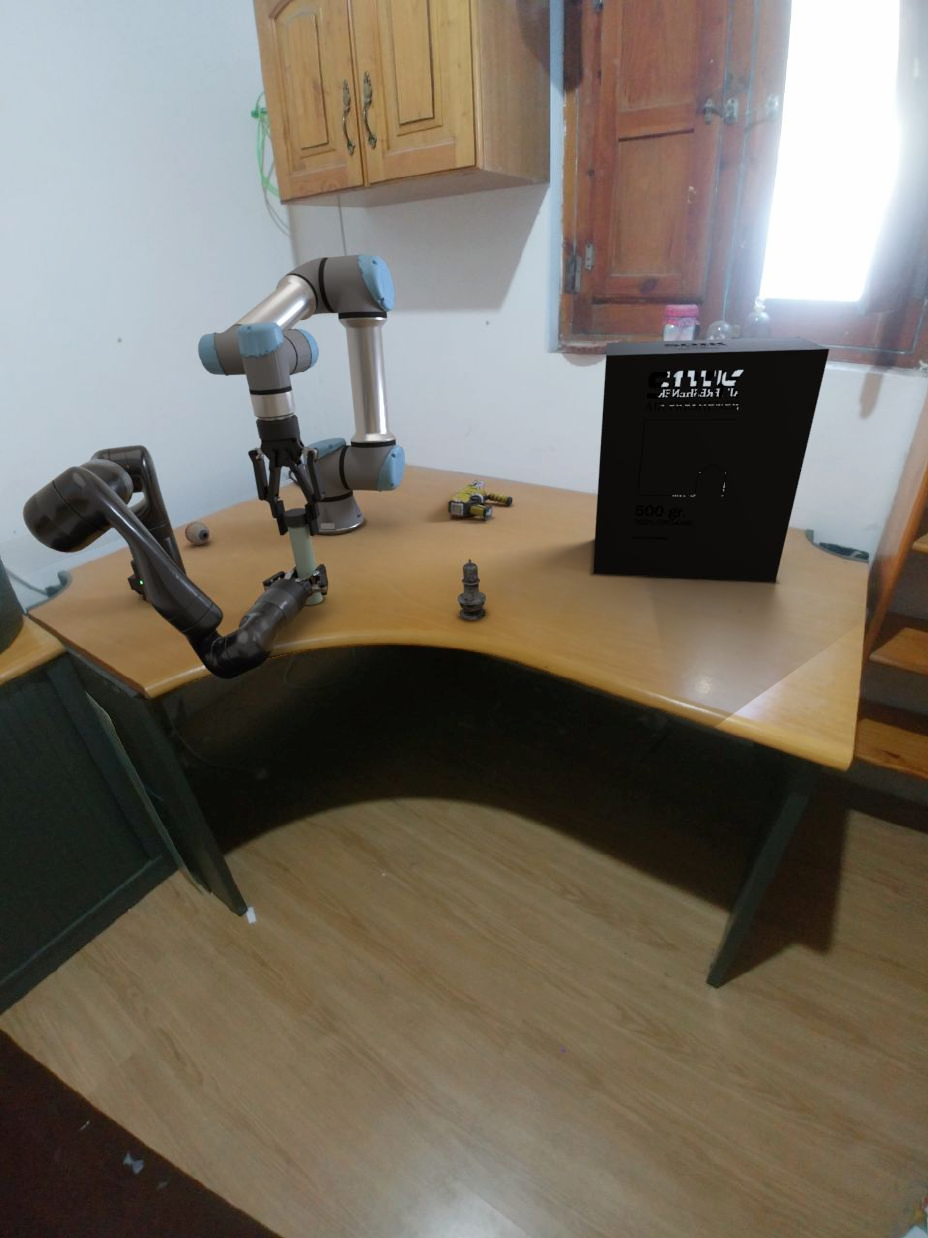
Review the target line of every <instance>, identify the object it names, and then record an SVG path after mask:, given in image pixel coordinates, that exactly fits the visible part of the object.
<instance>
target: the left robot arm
mask: <svg viewBox="0 0 928 1238" xmlns="http://www.w3.org/2000/svg"><path fill="white" fill-rule="evenodd" d="M139 493H142V494H143V498H142V499H141V500H139V501H138V502H137V503H135V504H133V505H131V506H128V505H129V503H130V502H131V500H132V498H133V494H139ZM162 494H163V493H162V490H161V487H160V483H159V478H158V474H157V471H156V467H155V463H154V460H153V457H152V455H151V453H150V451H149V450H148V448H147V447H146V446H145V445H142V444H135V445H133V444H132V445H126V446H117V447H110V448H109V447H108V448H103V449H100V450H98V451H96V452H94V453H93V455H92V456H91V457H90V458H89V460H88V461H86V462H84V463H81V464H80V465H79V466H78V465H77V466H76V465H74V466H70V467H68V468H67V469H66V470H65V469H64V471H63V472H62V473H60V474H59V475H57V476H56V477H55V478H54V479H52V480H51V481H49V482H48V483H47V484H45V485H44V486H43V487H42V488H40V489H39V490H37V492H35V493H33V494H32V495H31V496H30V497H29V498H28V500H26V502H25V503H24V505H23V508H22V517H23V521H24V524H25V526H26V528H27V529H28V531H29V533H30V534H31V535H32V536H33V538H35V539H36V540H37V542H39V543H41V545H44V546H45V547H47V548H49V549H50V550H54V551H57V552H60V553H67V554H72V553H77V552H81V551H83V550H84V549H86V548H88V547H89V546H90V545H93V543H94V542H96V541H97V540H98V539H100V538H101V537H102V536H103V535H105V534H106V533H107V532H108V531H110V530H111V529H114V530H115V531H116V532H117V533H118V534H119V535H120V536H121V538H123V539H124V541H125V542H126V544H127V546H128V549H129V551H130V554H131V557H132V559H131V561H130V566H131V568H132V572H133V574H131V575H130V576H128V577H127V582H128V584H129V587H130V590H131V591H135V593H137V594H138V595H140V596H142V600H143V601H146V602H148V603H149V604H150V606H152V608H153V609H154V610H155V612H157V614H158V615H159V616H160V617H161V618H163V620H165V621H166V622H167V623H169V624H170V625H171V626H172V627H173V628H174V629H175V630H176V631H178V633H180V634H181V635H182V636H183V637H185V639H186V641H187V642H188V644H189V646H190V647H191V648H192V650H193V651H194V654H196V656H197V658H198V659H199V660H200V662H201V663H202V665H203V666H204V668H205V669H206V670H207V671H208V672H209V673H210V674H212V675H214V676H215V677H217V678H220V679H223V680H230V679H235V678H237V677H239V676H242V675H243V674H246V673H248V672H250V671H251V670H254V669H256V668H258V667H260V666H261V665H263V664H264V663H265V662H266V661H267V660H268V659H269V658H270V656H271V654H272V653H273V650H274V647H275V644H276V640H277V639H278V637H279V636H280V635H281V633H282V632H284V630H285V629H286V628H288V627H289V626H290V625H291V624H292V622H294V620H295V619H296V617H297V616H298V615H299V614H300V613H301V611H302V610H303V609H304V607H305V606H306V605H307V604H306V601H307V598H308V597H310V596H312V595H313V593H318V592H319V593H321V595H322V597H323V596H324V597H325V596H327V595H328V591H329V579H328V573H327V567H326V566H325V564H324V563H319V564H318V566H317V568H316V569H315V571H314V572H313V573H311V574H306V575H304V576H303V577H301V578H298V574H297V569H296V565H295V566H294V567H293V568H292V569H289V570H287V572H286V571H284V570H280V571H278V572H277V573H275V574H273V575H272V576H269V577H268V578H266V579H264V580H263V581H262V587H263V590H264V591H263V592H262V593H261V594H260V596H259V597H257V599H256V600H255V602H254V603H253V605H252V606H250V608H249V609H248V610H247V611H246V612H245V614H243V616H242V617H241V619H240V621H239V623H238V628H237V629H236V630H234V631H232V632H230V633H228V634H226V635H224V636H223V635H221V634H220V633H219V631H218V630H217V629H218V628H219V626H220V625H221V623H222V622H223V620H224V612H223V610H222V609H221V608H220V606H219V605H217V603H216V602H215V601H213V599H212V598H210V597H209V596H208V595H207V594H206V593H205V592H204V591H203V590H202V589H201V588H200V587H198V585H197V584H195V583H194V582H193V581H192V579H190V578H189V577H188V571H187V567H186V566H185V564H184V560H183V558H182V555H181V552H180V549H179V546H178V543H177V539H176V536H175V533H174V530H173V526H172V523H171V519H170V516H169V514H168V511H167V508H166V507H167V506H166V505H165V501H164V497H163V495H162ZM314 578H315V581H314Z"/></svg>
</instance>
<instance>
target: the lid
mask: <svg viewBox="0 0 928 1238" xmlns="http://www.w3.org/2000/svg"><path fill="white" fill-rule="evenodd" d="M283 518H284V523H285V525H286V526H287V527H300V526H304V525H306V524H308V521H307V516H306V511H305V507H293V508H290V509H287V510H285V512H284V513H283Z"/></svg>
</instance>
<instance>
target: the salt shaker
mask: <svg viewBox="0 0 928 1238" xmlns="http://www.w3.org/2000/svg"><path fill="white" fill-rule="evenodd" d="M478 567H479V566H478V564H476V563H474V562H473V561H472V559H471V558H469V559H468V561H467V562H466V563H465V564H463V566H462V577H463V578H462V579H461V583H462V585H463V592H461V593H460V594H458V596H457V597H456V601H457V602H458V604H459V607H460V608H461V609H460V611H459V617H460V618H461V619H464V620H466V621H467V620H468V621H476V620H480V619H482V618H484V617H485V616H486V614H487V613H486V610H485V609H484V606H485V604H486V601H487V595H486V593H484V592H482V591H480V587H479V586H480V583H481V578H480V577H479V568H478Z"/></svg>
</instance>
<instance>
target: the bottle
mask: <svg viewBox="0 0 928 1238" xmlns="http://www.w3.org/2000/svg"><path fill="white" fill-rule="evenodd" d="M288 536H289V540H290V545H291V550H292V555H293V560H294V564H295V566H296V569H297V574H298V578H301V577H303V576H304V575H306V574H311V573H313V572H314V571H315V569H316V568H317V567H318V566H317V562H316V557H315V551H314V546H313V541H312V536H310V532H309V527H308V524H306V525H304V526H300V527H288ZM314 581H315V578H314ZM323 599H324V598H323V596H322V595H321V593H319V592H318V593H313V595H312V596H310V597H308V598H307V601H306V604H305V605H306V606H313V605H318V604H320V603H321V602H322V601H323Z"/></svg>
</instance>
